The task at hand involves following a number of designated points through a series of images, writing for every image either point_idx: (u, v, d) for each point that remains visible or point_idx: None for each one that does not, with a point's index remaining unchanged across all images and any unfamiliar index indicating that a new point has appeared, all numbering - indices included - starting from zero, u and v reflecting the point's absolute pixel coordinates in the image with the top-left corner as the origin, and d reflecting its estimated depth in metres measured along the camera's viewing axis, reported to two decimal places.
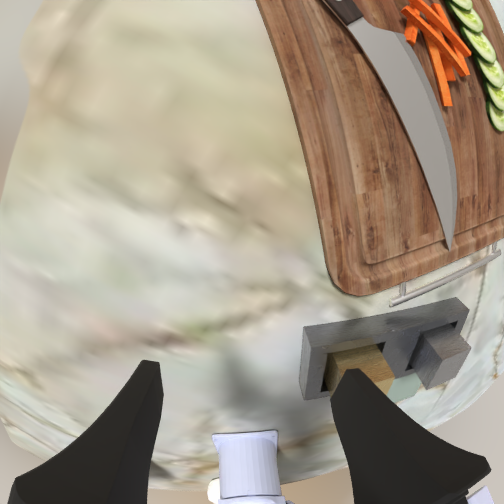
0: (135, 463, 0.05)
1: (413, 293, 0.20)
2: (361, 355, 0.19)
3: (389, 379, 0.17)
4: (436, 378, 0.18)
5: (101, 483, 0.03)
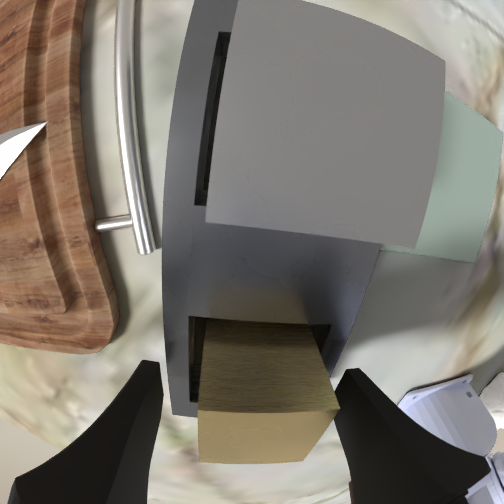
0: (135, 463, 0.05)
1: (127, 197, 0.09)
2: None
3: (202, 418, 0.06)
4: (358, 213, 0.04)
5: (101, 483, 0.03)
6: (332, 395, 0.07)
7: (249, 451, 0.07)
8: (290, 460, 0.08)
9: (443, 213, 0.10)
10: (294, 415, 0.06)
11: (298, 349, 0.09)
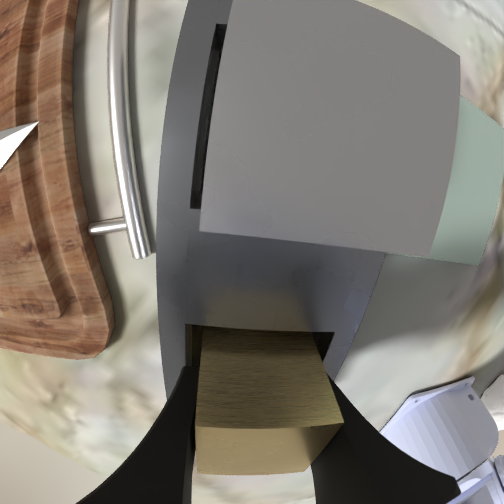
0: (188, 472, 0.05)
1: (121, 199, 0.09)
2: None
3: (200, 434, 0.06)
4: (370, 220, 0.04)
5: (170, 499, 0.03)
6: (335, 408, 0.07)
7: (248, 464, 0.07)
8: (291, 471, 0.07)
9: (449, 215, 0.10)
10: (296, 429, 0.06)
11: (300, 359, 0.08)
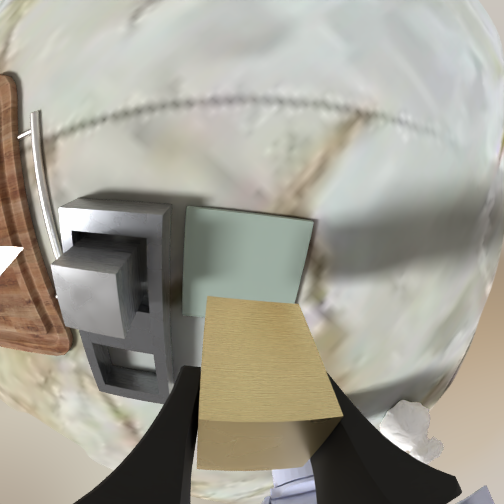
0: (187, 471, 0.05)
1: None
2: None
3: (203, 427, 0.06)
4: (99, 327, 0.13)
5: (169, 498, 0.03)
6: (335, 402, 0.07)
7: (248, 459, 0.07)
8: (290, 466, 0.08)
9: (236, 294, 0.19)
10: (297, 423, 0.06)
11: (299, 355, 0.09)
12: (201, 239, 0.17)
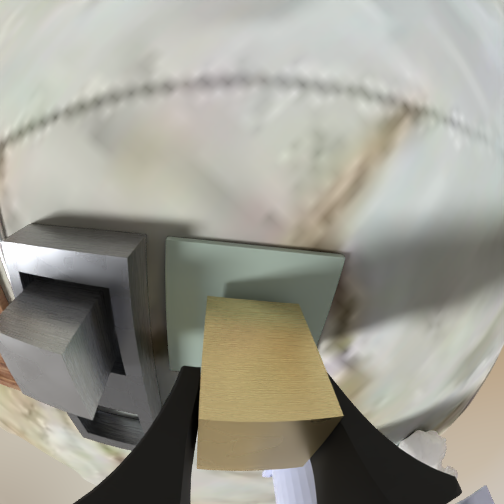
0: (187, 471, 0.05)
1: None
2: None
3: (203, 427, 0.06)
4: (59, 404, 0.08)
5: (169, 498, 0.03)
6: (335, 402, 0.07)
7: (249, 458, 0.07)
8: (290, 466, 0.08)
9: None
10: (297, 423, 0.06)
11: (299, 355, 0.09)
12: (188, 283, 0.12)
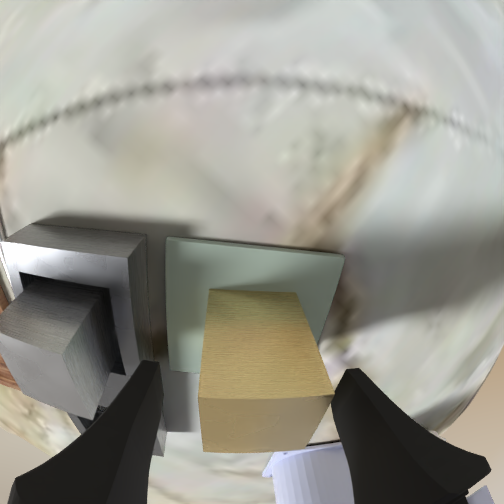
0: (135, 463, 0.05)
1: None
2: None
3: (203, 406, 0.07)
4: (60, 404, 0.08)
5: (101, 483, 0.03)
6: (327, 381, 0.08)
7: (250, 439, 0.08)
8: (292, 448, 0.08)
9: None
10: (290, 400, 0.07)
11: (294, 339, 0.09)
12: (189, 283, 0.12)
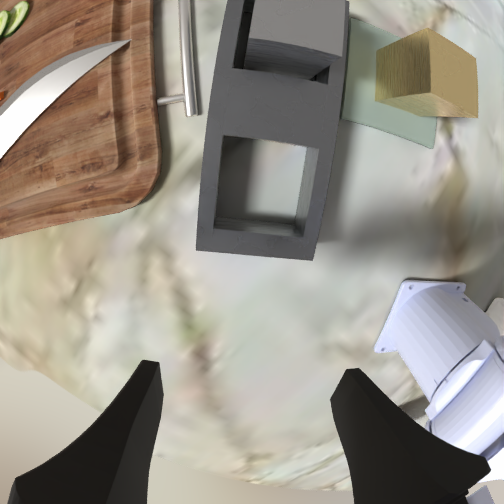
0: (135, 463, 0.05)
1: (183, 81, 0.14)
2: (398, 62, 0.11)
3: (430, 35, 0.08)
4: (309, 38, 0.09)
5: (101, 483, 0.03)
6: (469, 58, 0.08)
7: (453, 82, 0.09)
8: (472, 111, 0.09)
9: None
10: (461, 50, 0.08)
11: None
12: (364, 44, 0.13)
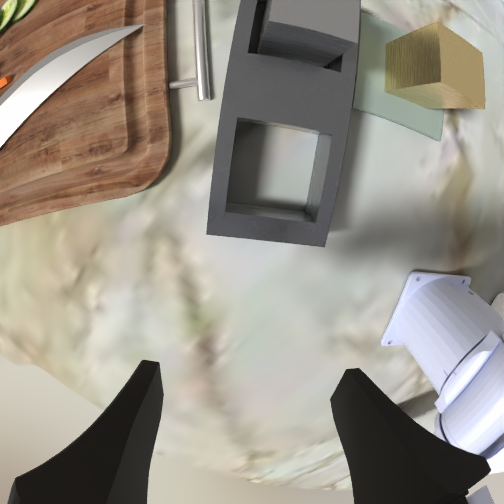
0: (135, 463, 0.05)
1: (196, 65, 0.13)
2: (408, 54, 0.11)
3: (439, 29, 0.07)
4: (326, 25, 0.08)
5: (101, 483, 0.03)
6: (475, 53, 0.08)
7: (461, 73, 0.08)
8: (479, 102, 0.09)
9: None
10: (468, 44, 0.08)
11: None
12: (374, 37, 0.13)
